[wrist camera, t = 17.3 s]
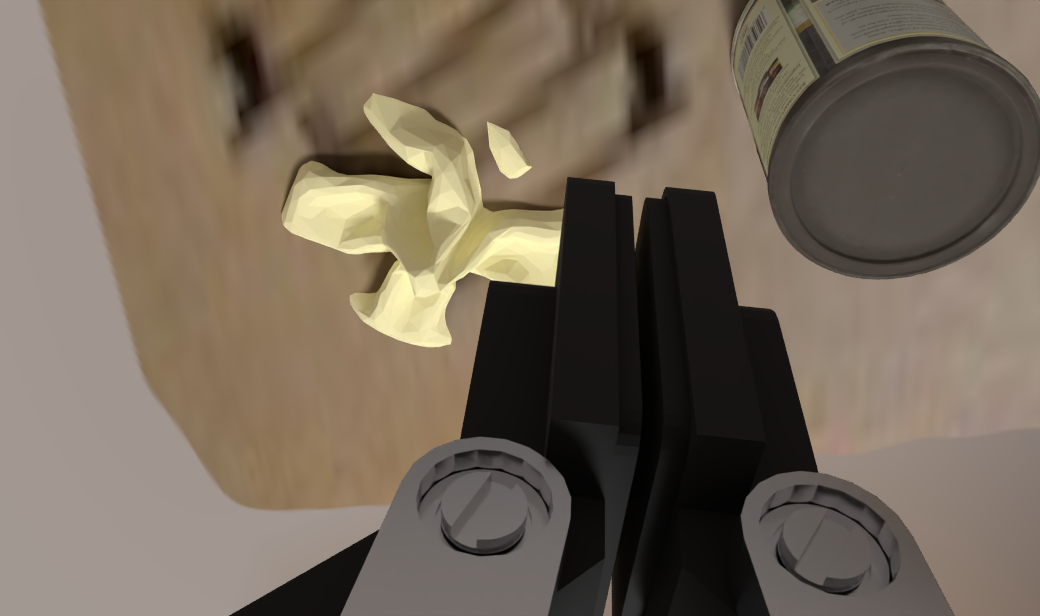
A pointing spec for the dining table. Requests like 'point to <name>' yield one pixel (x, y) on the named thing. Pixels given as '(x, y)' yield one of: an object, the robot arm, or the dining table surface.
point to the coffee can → (884, 131)
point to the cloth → (424, 222)
